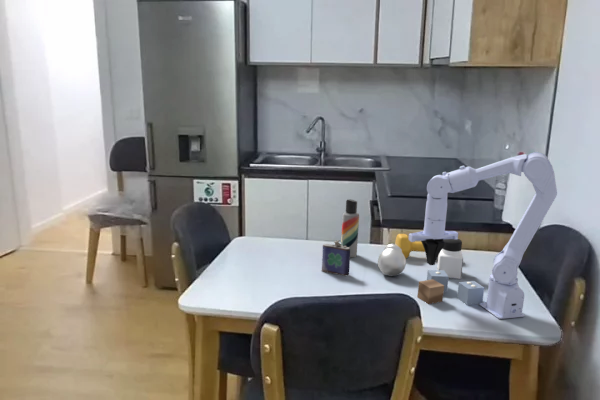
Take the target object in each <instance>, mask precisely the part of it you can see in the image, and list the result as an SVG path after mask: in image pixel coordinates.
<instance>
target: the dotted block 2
mask: <svg viewBox="0 0 600 400" xmlns="http://www.w3.org/2000/svg"><path fill="white" fill-rule="evenodd" d="M484 291H485V287H484V286H482V285H481V284H479V283H478V282H476V281H475V280H471V281H458V286H457V294H456V295H457V297H456V299H458V300H459V301H461V303H463V304H464V303H465V304H464V305H465V306H473V305H480V303H484V302H483V301H484V300H483V299H484Z"/></svg>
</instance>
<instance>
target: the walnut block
mask: <svg viewBox="0 0 600 400" xmlns="http://www.w3.org/2000/svg"><path fill="white" fill-rule="evenodd" d="M444 293H445V292H444V285H442V284H440V283H439V282H437V281H435V280H433V279H431V280H427V279H426V280H420V281H418V287H417V298H418V299H419V300H421V301H423V302H424V303H425V302H426V305H432V303H433V304H438V303H437V302H439V303H442V302H443V300H444Z"/></svg>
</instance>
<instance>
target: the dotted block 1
mask: <svg viewBox="0 0 600 400" xmlns="http://www.w3.org/2000/svg"><path fill="white" fill-rule="evenodd" d="M431 279H433V280H435V281H437V282H439V283H440V284H442V285H444V293H448V284H449V278H448V275H447V274H446V272H445V271H444V270H437V269H427V272H426V280H431Z"/></svg>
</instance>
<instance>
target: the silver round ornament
mask: <svg viewBox="0 0 600 400" xmlns="http://www.w3.org/2000/svg"><path fill="white" fill-rule="evenodd" d="M377 265H378V268H379V270H380V272H381V273H383V274H384V275H385V276H388V277H395V276H398V275H401V274H402V273H403V271H404V270H405V268H406V265H407V258H406V259H405V256H404V254H403V253H402V249H401V248H400V247H399V246H396V245H395V243H389V244H387V245H385V246H384V249H383V251H381V252H380V254H379V256H378V258H377Z"/></svg>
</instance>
